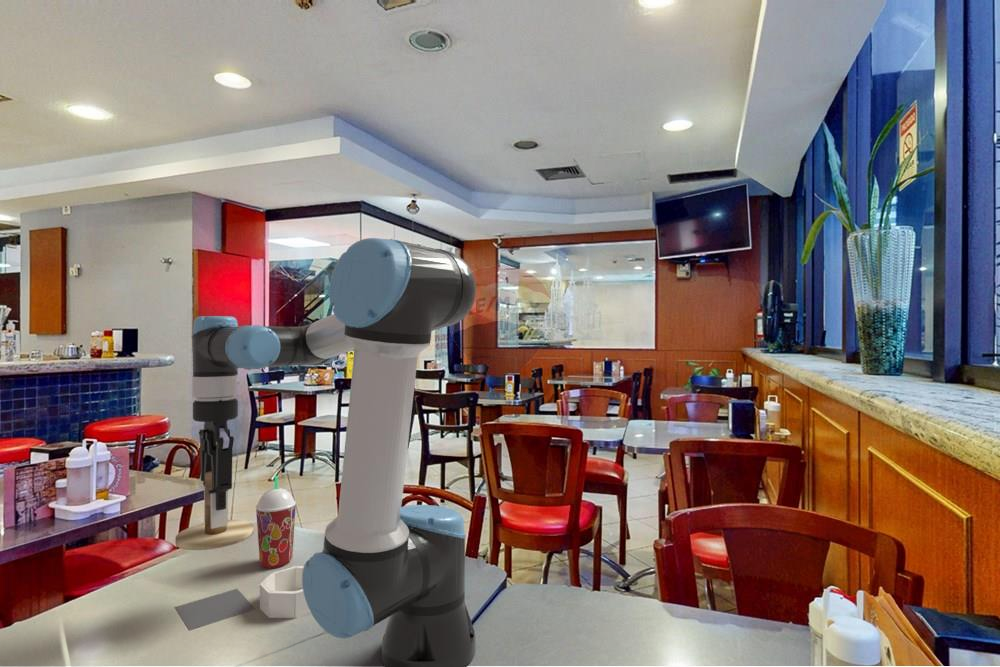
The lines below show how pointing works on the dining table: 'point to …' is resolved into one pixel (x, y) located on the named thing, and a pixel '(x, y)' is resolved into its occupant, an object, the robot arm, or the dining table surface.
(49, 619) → the dining table surface
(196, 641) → the dining table surface
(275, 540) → the smoothie
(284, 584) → the bowl
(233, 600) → the mat
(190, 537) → the wooden peg stand
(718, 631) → the dining table surface
